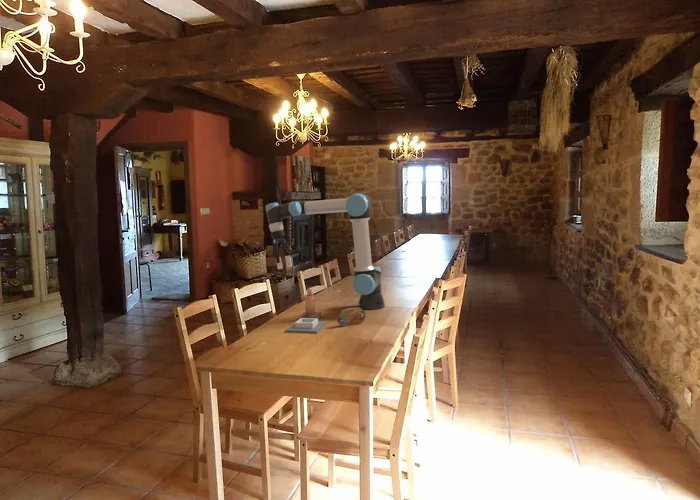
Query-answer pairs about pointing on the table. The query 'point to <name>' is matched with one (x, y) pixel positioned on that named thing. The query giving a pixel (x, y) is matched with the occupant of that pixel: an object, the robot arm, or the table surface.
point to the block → (316, 315)
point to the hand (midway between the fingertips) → (285, 268)
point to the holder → (306, 325)
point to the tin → (351, 316)
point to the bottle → (309, 303)
